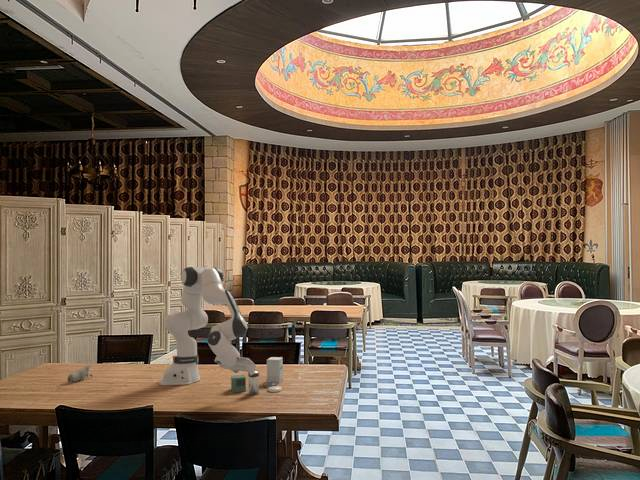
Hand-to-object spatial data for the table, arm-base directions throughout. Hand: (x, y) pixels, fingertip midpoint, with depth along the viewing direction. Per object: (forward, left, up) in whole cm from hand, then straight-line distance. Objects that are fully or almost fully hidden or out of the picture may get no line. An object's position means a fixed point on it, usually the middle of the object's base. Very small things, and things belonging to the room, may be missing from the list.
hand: (244, 373), depth 250 cm
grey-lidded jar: (+5, +5, -12) cm, 14 cm away
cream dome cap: (+16, +7, -12) cm, 21 cm away
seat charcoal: (+15, +16, -12) cm, 25 cm away
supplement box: (+19, +25, -12) cm, 34 cm away
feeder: (-2, +14, -12) cm, 19 cm away
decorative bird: (-88, +63, -12) cm, 109 cm away
